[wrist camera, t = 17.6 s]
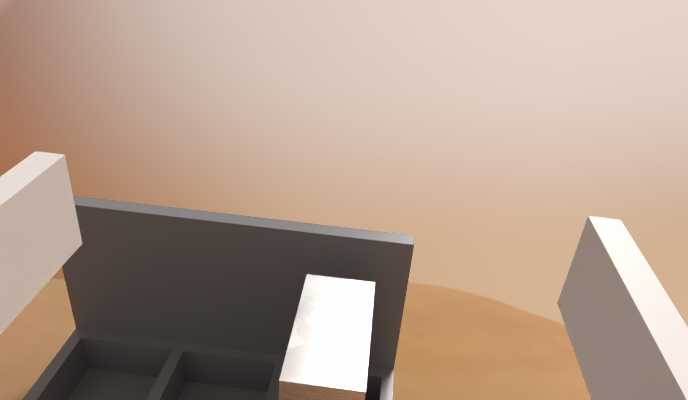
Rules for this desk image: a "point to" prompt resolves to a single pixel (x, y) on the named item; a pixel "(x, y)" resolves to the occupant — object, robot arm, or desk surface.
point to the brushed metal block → (329, 341)
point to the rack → (208, 302)
